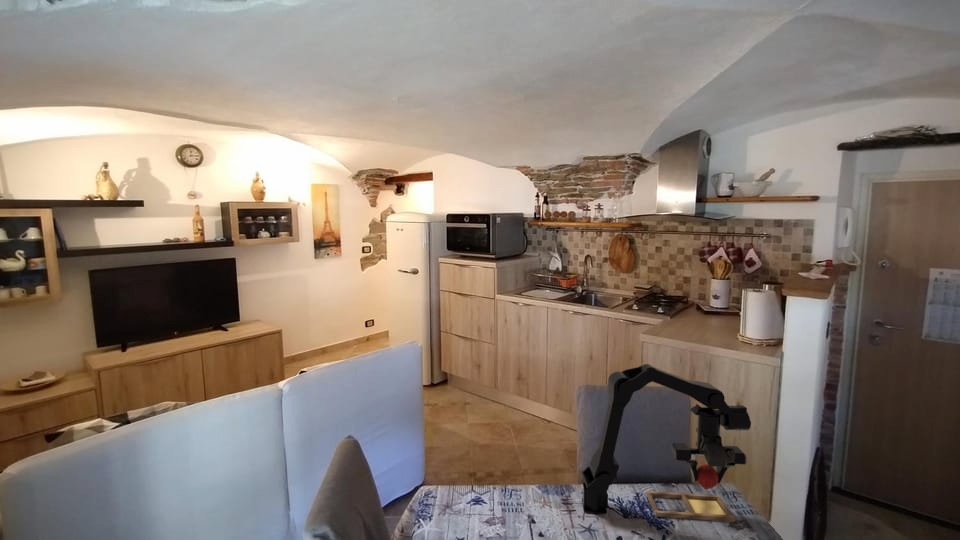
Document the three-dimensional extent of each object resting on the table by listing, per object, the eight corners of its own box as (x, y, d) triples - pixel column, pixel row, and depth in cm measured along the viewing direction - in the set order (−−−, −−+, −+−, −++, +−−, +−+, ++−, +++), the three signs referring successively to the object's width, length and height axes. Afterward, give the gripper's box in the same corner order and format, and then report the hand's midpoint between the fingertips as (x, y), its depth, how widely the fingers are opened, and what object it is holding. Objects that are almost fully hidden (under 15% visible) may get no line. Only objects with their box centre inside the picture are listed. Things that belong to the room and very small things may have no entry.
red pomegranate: (720, 496, 128) (722, 468, 127) (698, 493, 129) (700, 465, 128) (713, 485, 133) (715, 458, 133) (692, 482, 134) (694, 456, 134)
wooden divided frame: (655, 516, 128) (655, 512, 128) (646, 494, 139) (646, 490, 139) (734, 521, 125) (734, 517, 125) (719, 499, 136) (719, 495, 136)
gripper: (683, 439, 123) (681, 495, 124) (757, 443, 121) (754, 500, 122) (671, 423, 134) (669, 474, 135) (738, 426, 132) (736, 478, 133)
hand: (706, 482), depth 131 cm, fingers closed on red pomegranate, 6 cm apart
